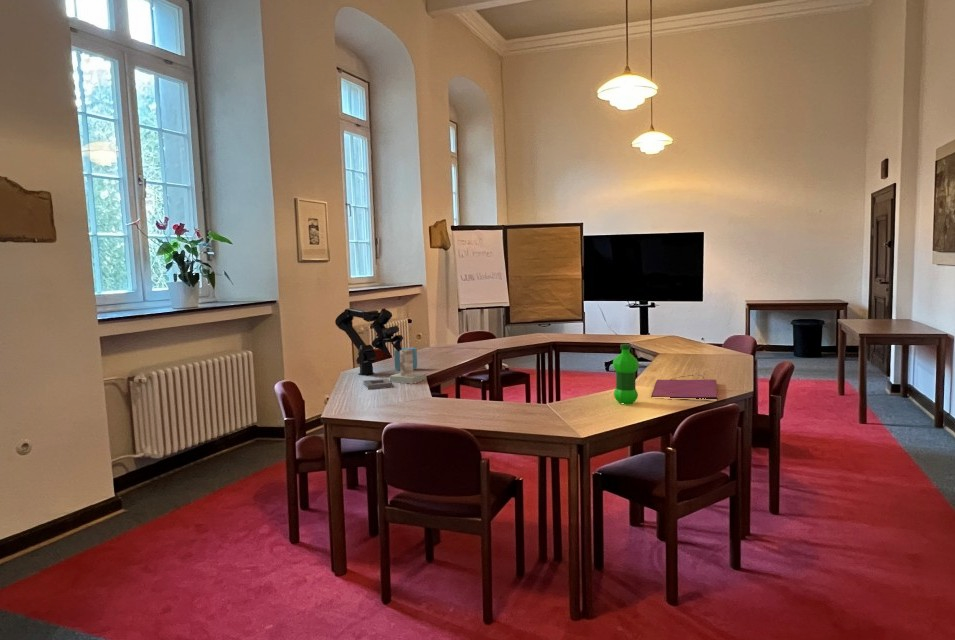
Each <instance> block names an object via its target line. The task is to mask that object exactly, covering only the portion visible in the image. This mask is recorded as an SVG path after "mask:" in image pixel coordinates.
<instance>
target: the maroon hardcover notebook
mask: <svg viewBox="0 0 955 640" xmlns="http://www.w3.org/2000/svg"><path fill="white" fill-rule="evenodd" d="M691 376H692V377H693V376H694V374H690V375H688V377H691ZM699 376H701V377H702V378H703V379H678V378H680V376H677V377H674V378H671V379H657V380H656V381H655V385H654V386H653V390H652V392H651V397H670V398H696V399H699V398H701V399H702V398H704V399H705V398H706V399H717V400H718V398H717V395H718V383H717V379H705V378H704V376H702V375H701V374H699ZM681 378H685V375H683V376H681ZM651 397H650V398H651Z"/></svg>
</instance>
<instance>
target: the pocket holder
mask: <svg viewBox="0 0 955 640" xmlns="http://www.w3.org/2000/svg"><path fill="white" fill-rule="evenodd" d="M364 385H365V386H366V387H367V388H368V389H367V388H366V387H365V386H364ZM363 386H364V387H365V388H366V389H367V390H374V388H376V389H383V388H384V387H387V388H393V382H390V379H388V378H379V379H366V380H363ZM384 389H385V388H384Z"/></svg>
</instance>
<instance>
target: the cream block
mask: <svg viewBox="0 0 955 640" xmlns="http://www.w3.org/2000/svg"><path fill="white" fill-rule="evenodd" d="M399 371H400V373H401V376H411V375H413V373H414V370H413V356H412V350H410V349H404V350H400V370H399Z"/></svg>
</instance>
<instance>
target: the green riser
mask: <svg viewBox="0 0 955 640" xmlns="http://www.w3.org/2000/svg"><path fill="white" fill-rule="evenodd" d="M422 380H423V381H426V380H427V373H420V372H413V375H411V376H401V372H399V373H395V374H392V375H389V381H393V382H392V383H398V382H403V383H402V384H407V383H414V384H416V383H415V382H417V383H419V382H418V381H420V382H423V381H422Z"/></svg>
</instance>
